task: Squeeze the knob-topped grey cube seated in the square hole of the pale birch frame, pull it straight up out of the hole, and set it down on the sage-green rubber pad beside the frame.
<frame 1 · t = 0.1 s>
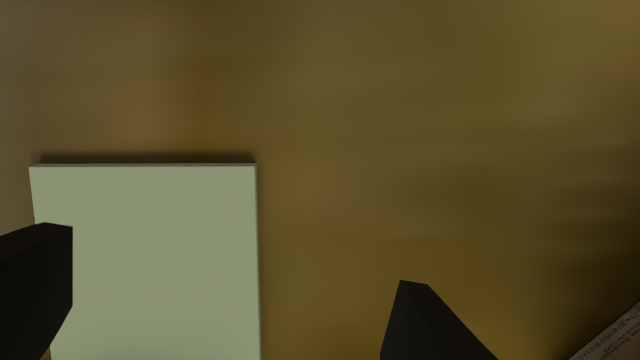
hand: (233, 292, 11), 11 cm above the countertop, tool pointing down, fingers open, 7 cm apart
rubber pad: (155, 265, 22), on the countertop
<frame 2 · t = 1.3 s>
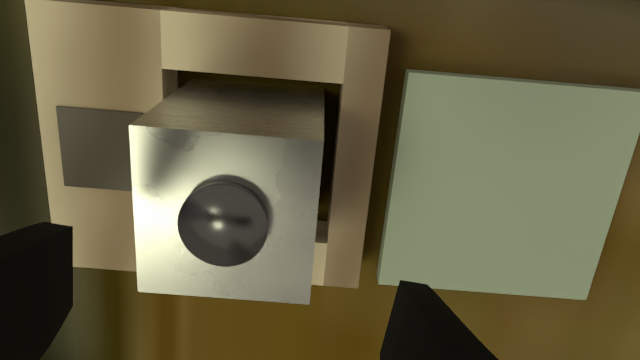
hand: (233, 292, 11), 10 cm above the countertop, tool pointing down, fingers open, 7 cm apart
knob-topped grey cube: (256, 144, 20), resting in birch frame
rubber pad: (498, 188, 21), on the countertop
birch frame: (219, 142, 20), on the countertop
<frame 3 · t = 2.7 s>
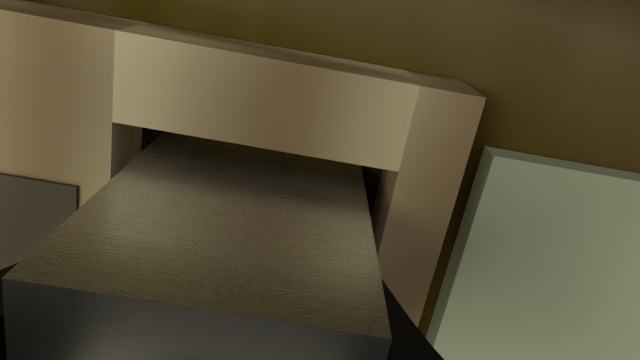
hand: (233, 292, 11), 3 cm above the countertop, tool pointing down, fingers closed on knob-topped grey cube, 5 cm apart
knob-topped grey cube: (252, 231, 14), resting in birch frame, touching gripper
rubber pad: (590, 319, 15), on the countertop
birch frame: (197, 223, 14), on the countertop
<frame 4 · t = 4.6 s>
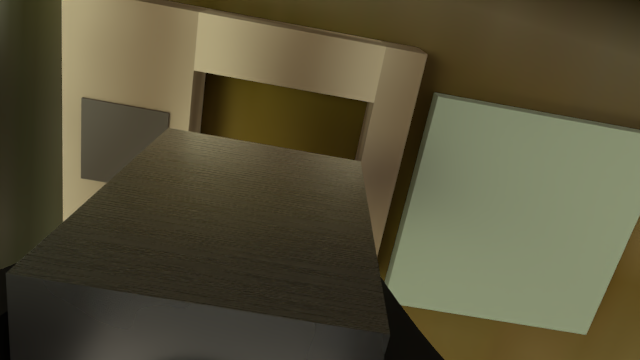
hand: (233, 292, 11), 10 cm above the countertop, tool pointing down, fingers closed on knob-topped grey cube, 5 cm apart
knob-topped grey cube: (252, 230, 14), point 7 cm above the countertop, touching gripper
rubber pad: (512, 217, 21), on the countertop
birch frame: (239, 147, 20), on the countertop
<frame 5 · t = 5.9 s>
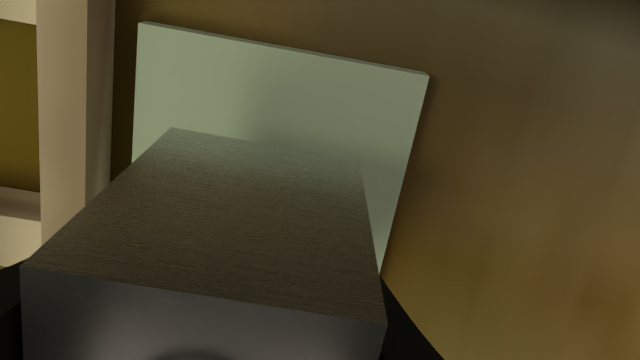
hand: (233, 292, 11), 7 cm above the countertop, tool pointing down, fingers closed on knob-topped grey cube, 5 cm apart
knob-topped grey cube: (253, 227, 14), point 4 cm above the countertop, touching gripper
rubber pad: (268, 176, 18), on the countertop
when the fingers open (5 cm above the countertop, at t = 6.8 s): knob-topped grey cube stays where it is, resting on rubber pad.
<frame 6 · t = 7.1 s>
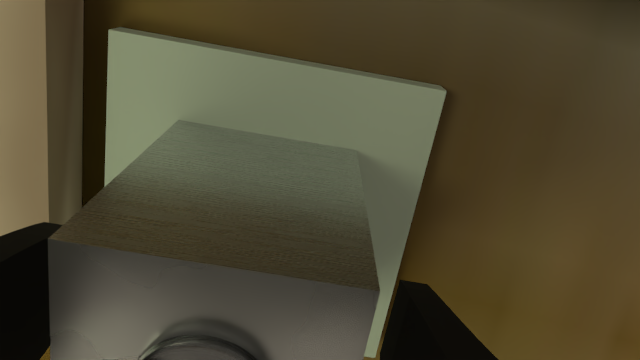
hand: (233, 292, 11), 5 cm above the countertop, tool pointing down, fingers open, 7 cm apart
knob-topped grey cube: (256, 215, 15), point 1 cm above the countertop, touching rubber pad
rubber pad: (261, 202, 16), on the countertop
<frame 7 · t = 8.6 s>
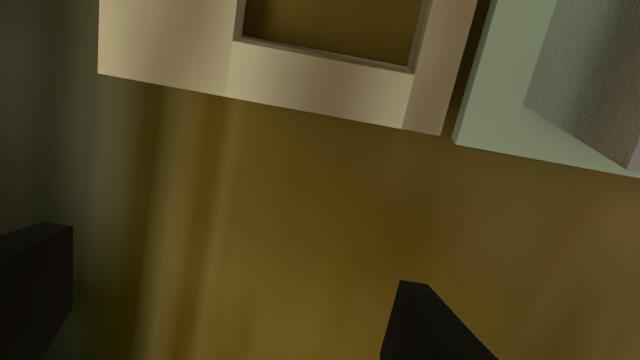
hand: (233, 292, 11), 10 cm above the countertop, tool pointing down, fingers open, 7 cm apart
knob-topped grey cube: (613, 48, 18), point 1 cm above the countertop, touching rubber pad
rubber pad: (603, 44, 19), on the countertop
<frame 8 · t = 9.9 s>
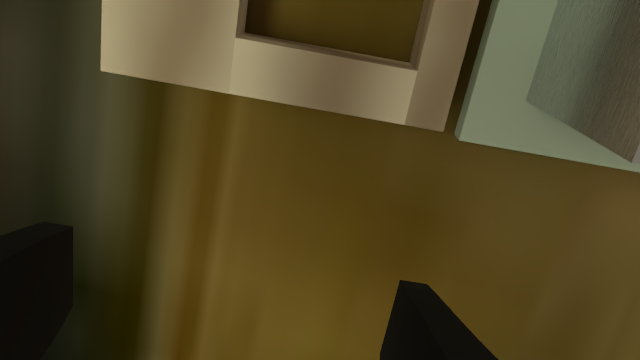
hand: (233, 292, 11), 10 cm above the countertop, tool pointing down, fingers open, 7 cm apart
knob-topped grey cube: (616, 43, 18), point 1 cm above the countertop, touching rubber pad
rubber pad: (606, 39, 19), on the countertop
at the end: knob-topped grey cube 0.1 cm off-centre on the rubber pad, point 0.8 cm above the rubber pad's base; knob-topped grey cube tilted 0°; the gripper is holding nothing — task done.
